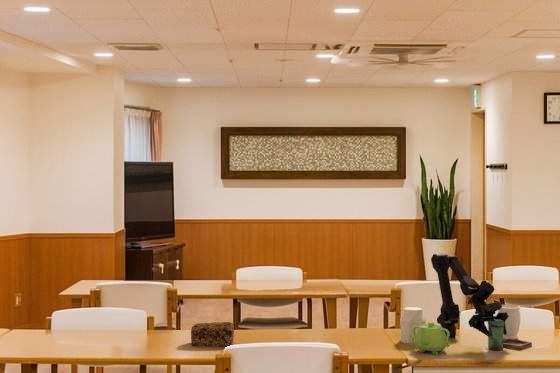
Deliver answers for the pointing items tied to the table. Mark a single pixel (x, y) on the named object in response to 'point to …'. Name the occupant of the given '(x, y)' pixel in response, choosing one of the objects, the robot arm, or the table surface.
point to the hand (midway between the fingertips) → (497, 335)
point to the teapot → (431, 338)
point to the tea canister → (495, 335)
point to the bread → (212, 334)
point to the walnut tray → (516, 344)
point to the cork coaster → (496, 351)
